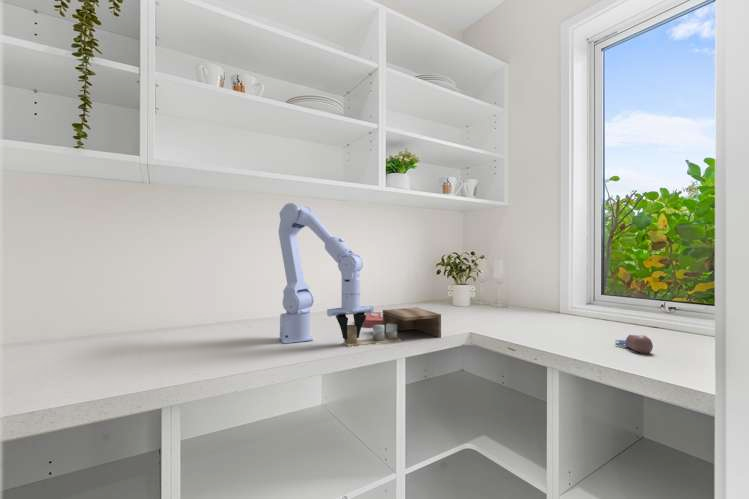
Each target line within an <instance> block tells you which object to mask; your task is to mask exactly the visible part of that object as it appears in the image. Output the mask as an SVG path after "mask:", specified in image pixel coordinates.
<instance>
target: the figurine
mask: <svg viewBox="0 0 749 499" xmlns="http://www.w3.org/2000/svg"><path fill="white" fill-rule="evenodd" d="M614 343H615V344H616V345H625V346H626V347H627V348H630V349H631V350H634V351H636V352H638V353H639V354H642V355H650V353H651V352H652V351H653V347H654V345H653V342H652V340H651V338H649V337H648V336H646V335H644V334H643V335H634V334H628V336H627V337H626V338H625V340H623V339H619V340H618V339H615V341H614Z"/></svg>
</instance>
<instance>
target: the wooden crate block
mask: <svg viewBox="0 0 749 499" xmlns="http://www.w3.org/2000/svg"><path fill="white" fill-rule="evenodd" d="M382 312H383V325H384V333H386V324H397V332H398V331H406V330H418V331H421V332H423V333H426V334H428V335H430V334H431V336H433V337H435V336H436V337H435V338H438V339H440V338H442V314H441V313H438V312H434V311H431V310H427V309H424V308H420V307H405V308H402V307H401V308H391V309H390V308H389V309H382Z"/></svg>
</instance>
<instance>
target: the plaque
mask: <svg viewBox="0 0 749 499" xmlns="http://www.w3.org/2000/svg"><path fill="white" fill-rule="evenodd" d="M365 315H366V319H365V320H364V322H363V325H364V327H365V328H368V327H369V328H371V329H373V326H374V325H383V311H380V312H379V311H374V313H365ZM369 328H368V329H369Z"/></svg>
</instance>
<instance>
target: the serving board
mask: <svg viewBox="0 0 749 499" xmlns="http://www.w3.org/2000/svg"><path fill="white" fill-rule="evenodd" d="M395 341H399V342H401V339H400V338H399V337H398V331H397V324H386V332H384V325H374V326H373V328H372V337H371V338H370V337H369V338H362V339H358V338H357V326H355V325H354V324H347V339H343V344H345V346H346V345H347V346H346V347H347V348H352V346H354V347H360V346H359V345H363V346H368V345H367V344H372V345H377V344H376V343H381V344H387V343H386V342H390V343H396V342H395Z"/></svg>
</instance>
